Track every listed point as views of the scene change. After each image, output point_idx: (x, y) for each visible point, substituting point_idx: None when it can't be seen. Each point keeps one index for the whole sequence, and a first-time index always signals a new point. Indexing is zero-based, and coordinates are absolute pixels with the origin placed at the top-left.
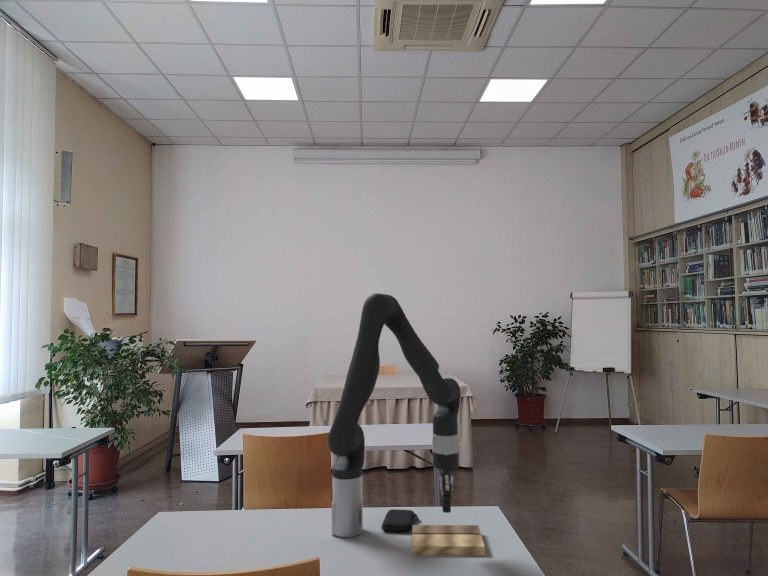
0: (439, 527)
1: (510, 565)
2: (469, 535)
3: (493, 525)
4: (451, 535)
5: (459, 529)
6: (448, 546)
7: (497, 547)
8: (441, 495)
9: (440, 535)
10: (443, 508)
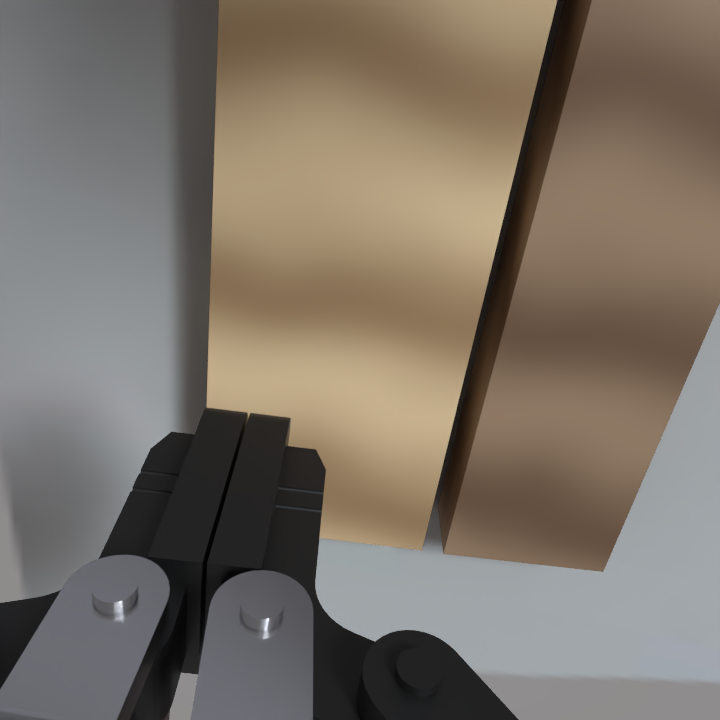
0: (670, 268)
1: (73, 572)
2: (418, 475)
3: (693, 632)
4: (446, 340)
5: (562, 430)
6: (211, 266)
7: (335, 572)
8: (246, 592)
9: (469, 240)
10: (195, 444)
